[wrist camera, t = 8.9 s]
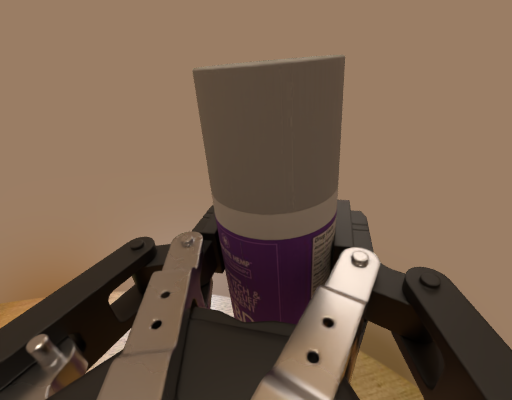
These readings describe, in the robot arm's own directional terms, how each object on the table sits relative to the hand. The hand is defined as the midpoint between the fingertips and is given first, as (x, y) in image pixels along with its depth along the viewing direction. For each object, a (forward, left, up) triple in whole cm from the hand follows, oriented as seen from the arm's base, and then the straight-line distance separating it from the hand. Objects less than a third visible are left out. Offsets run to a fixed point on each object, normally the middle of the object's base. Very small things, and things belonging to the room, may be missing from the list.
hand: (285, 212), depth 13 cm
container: (+1, +3, -8) cm, 9 cm away
